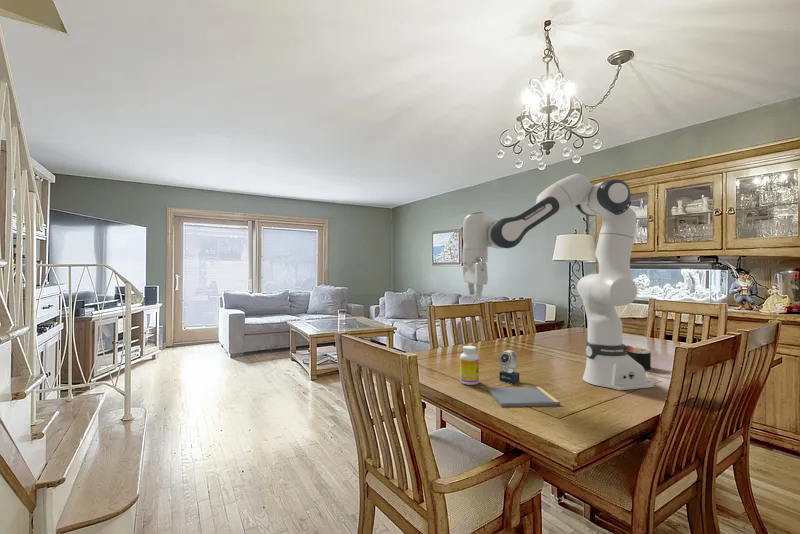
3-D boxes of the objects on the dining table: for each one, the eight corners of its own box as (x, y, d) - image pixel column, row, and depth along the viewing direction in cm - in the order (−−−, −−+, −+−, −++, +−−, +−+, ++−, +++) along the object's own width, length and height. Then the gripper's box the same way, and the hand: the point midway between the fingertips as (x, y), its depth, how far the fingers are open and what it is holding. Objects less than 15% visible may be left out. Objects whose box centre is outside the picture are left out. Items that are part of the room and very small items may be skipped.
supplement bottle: (478, 386, 130) (478, 349, 130) (459, 385, 132) (459, 348, 132) (478, 380, 137) (478, 345, 137) (460, 379, 138) (460, 344, 138)
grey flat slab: (539, 389, 127) (539, 386, 127) (559, 405, 113) (559, 401, 113) (487, 390, 126) (487, 387, 126) (501, 406, 112) (501, 403, 112)
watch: (496, 381, 136) (496, 351, 136) (508, 377, 141) (509, 348, 141) (509, 385, 131) (509, 354, 131) (522, 380, 137) (522, 350, 137)
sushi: (622, 366, 155) (622, 347, 155) (635, 364, 159) (635, 345, 159) (641, 371, 148) (642, 351, 148) (654, 369, 152) (655, 349, 151)
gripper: (492, 257, 124) (492, 298, 124) (476, 258, 144) (476, 293, 144) (473, 257, 124) (473, 298, 124) (460, 258, 144) (460, 294, 144)
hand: (475, 296), depth 134 cm, fingers open, 8 cm apart
